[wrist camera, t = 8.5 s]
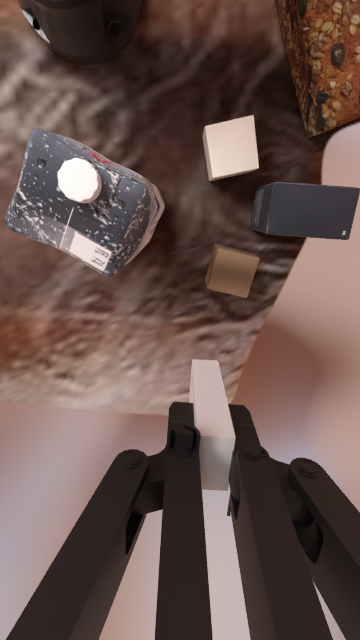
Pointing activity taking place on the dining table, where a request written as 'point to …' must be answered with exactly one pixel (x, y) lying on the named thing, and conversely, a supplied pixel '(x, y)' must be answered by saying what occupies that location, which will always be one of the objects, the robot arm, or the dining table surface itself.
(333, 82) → the bread
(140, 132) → the dining table surface
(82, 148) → the juice carton
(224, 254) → the walnut block
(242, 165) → the cream block
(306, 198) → the small box
